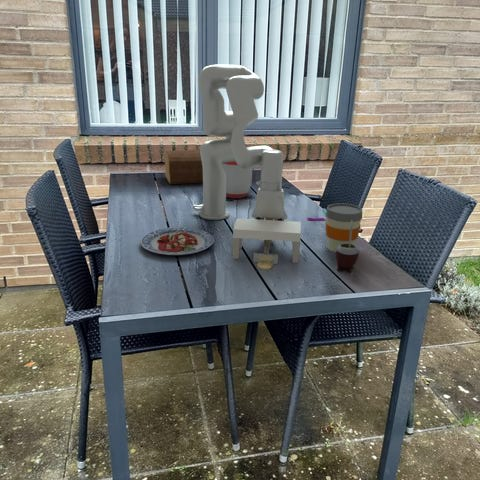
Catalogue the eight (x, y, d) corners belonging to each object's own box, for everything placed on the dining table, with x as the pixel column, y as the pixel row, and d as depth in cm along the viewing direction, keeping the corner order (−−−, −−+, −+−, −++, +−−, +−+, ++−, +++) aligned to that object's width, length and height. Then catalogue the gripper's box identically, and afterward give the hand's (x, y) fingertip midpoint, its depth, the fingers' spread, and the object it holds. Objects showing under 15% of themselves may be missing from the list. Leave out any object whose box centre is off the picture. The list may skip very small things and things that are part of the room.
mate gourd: (342, 275, 148) (347, 230, 142) (328, 265, 154) (332, 222, 149) (361, 271, 150) (367, 227, 145) (347, 262, 157) (352, 219, 151)
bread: (225, 182, 250) (226, 152, 244) (169, 185, 242) (168, 154, 236) (217, 174, 266) (217, 145, 260) (164, 176, 258) (163, 147, 252)
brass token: (255, 269, 151) (256, 266, 150) (258, 263, 155) (258, 260, 155) (271, 271, 150) (271, 268, 149) (273, 264, 154) (273, 261, 154)
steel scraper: (253, 262, 155) (254, 228, 150) (257, 239, 174) (258, 208, 170) (277, 264, 154) (279, 229, 150) (279, 240, 174) (281, 209, 169)
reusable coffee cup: (331, 256, 161) (336, 215, 155) (316, 243, 172) (320, 204, 166) (364, 253, 164) (370, 213, 158) (347, 240, 175) (352, 202, 170)
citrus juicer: (261, 196, 226) (262, 155, 219) (230, 201, 217) (231, 159, 209) (242, 188, 238) (243, 149, 230) (213, 193, 229) (213, 152, 221)
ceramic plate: (134, 237, 174) (133, 229, 173) (200, 229, 184) (200, 221, 182) (150, 264, 152) (149, 256, 151) (224, 253, 162) (224, 245, 161)
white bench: (232, 258, 157) (233, 229, 154) (236, 246, 168) (237, 218, 164) (298, 262, 155) (300, 233, 152) (298, 250, 166) (300, 222, 162)
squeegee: (302, 207, 207) (325, 208, 208) (302, 211, 208) (324, 211, 209) (314, 232, 181) (340, 232, 182) (314, 236, 182) (340, 236, 182)
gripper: (246, 187, 162) (245, 236, 168) (294, 189, 160) (290, 239, 167) (248, 181, 168) (247, 229, 175) (294, 183, 167) (291, 232, 174)
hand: (268, 234), depth 171 cm, fingers closed on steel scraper, 3 cm apart
